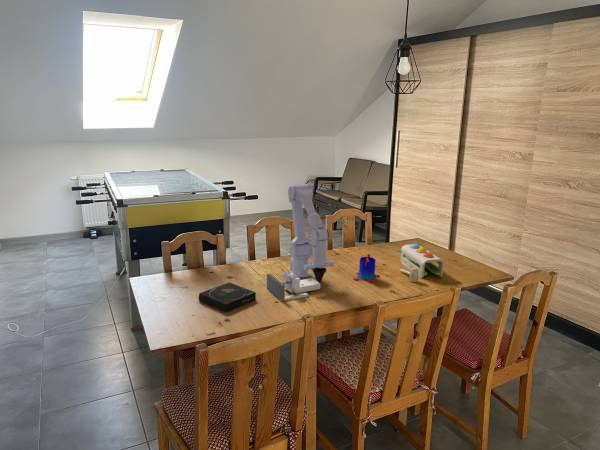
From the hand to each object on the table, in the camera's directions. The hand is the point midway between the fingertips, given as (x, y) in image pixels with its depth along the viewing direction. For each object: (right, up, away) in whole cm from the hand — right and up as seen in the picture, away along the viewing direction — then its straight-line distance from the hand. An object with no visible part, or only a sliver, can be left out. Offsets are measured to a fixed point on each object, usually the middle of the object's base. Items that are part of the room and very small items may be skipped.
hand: (318, 282), depth 209 cm
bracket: (-7, -3, -3) cm, 8 cm away
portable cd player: (-39, -6, -16) cm, 42 cm away
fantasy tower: (+24, +1, +13) cm, 27 cm away
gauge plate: (-14, -2, -8) cm, 16 cm away
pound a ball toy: (+50, +2, +23) cm, 55 cm away
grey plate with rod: (-14, -3, -7) cm, 16 cm away
